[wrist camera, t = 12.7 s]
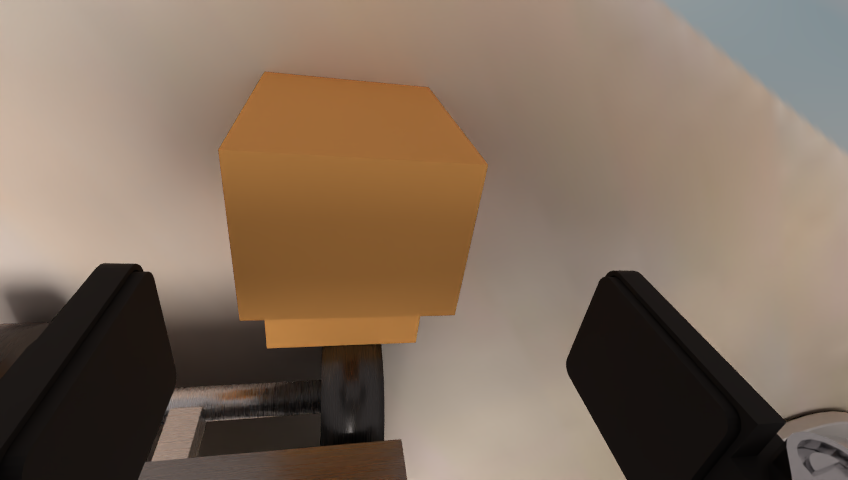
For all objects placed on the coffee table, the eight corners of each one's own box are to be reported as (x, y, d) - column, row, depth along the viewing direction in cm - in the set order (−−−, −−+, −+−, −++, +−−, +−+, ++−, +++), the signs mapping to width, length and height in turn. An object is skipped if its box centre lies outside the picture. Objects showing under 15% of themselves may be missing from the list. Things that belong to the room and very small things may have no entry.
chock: (427, 86, 14) (487, 165, 9) (401, 281, 18) (432, 416, 13) (265, 70, 13) (218, 150, 8) (277, 282, 17) (253, 430, 12)
